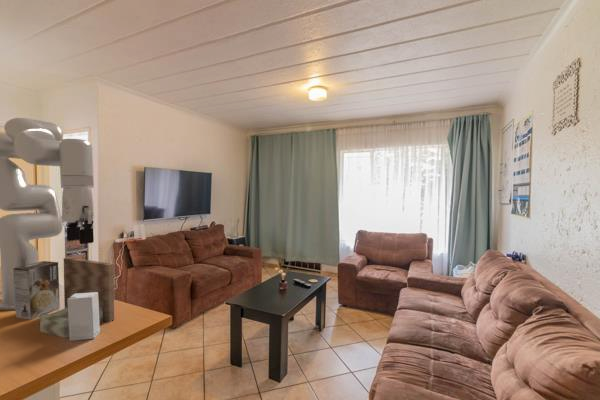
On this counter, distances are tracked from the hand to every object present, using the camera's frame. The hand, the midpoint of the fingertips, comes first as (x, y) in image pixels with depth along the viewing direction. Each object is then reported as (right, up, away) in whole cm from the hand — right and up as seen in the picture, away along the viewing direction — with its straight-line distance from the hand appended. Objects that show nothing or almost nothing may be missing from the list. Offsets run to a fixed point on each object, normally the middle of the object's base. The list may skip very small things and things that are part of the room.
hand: (80, 241), depth 83 cm
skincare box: (+3, -27, -3) cm, 27 cm away
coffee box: (-22, -25, +11) cm, 35 cm away
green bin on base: (-6, -26, +5) cm, 27 cm away
